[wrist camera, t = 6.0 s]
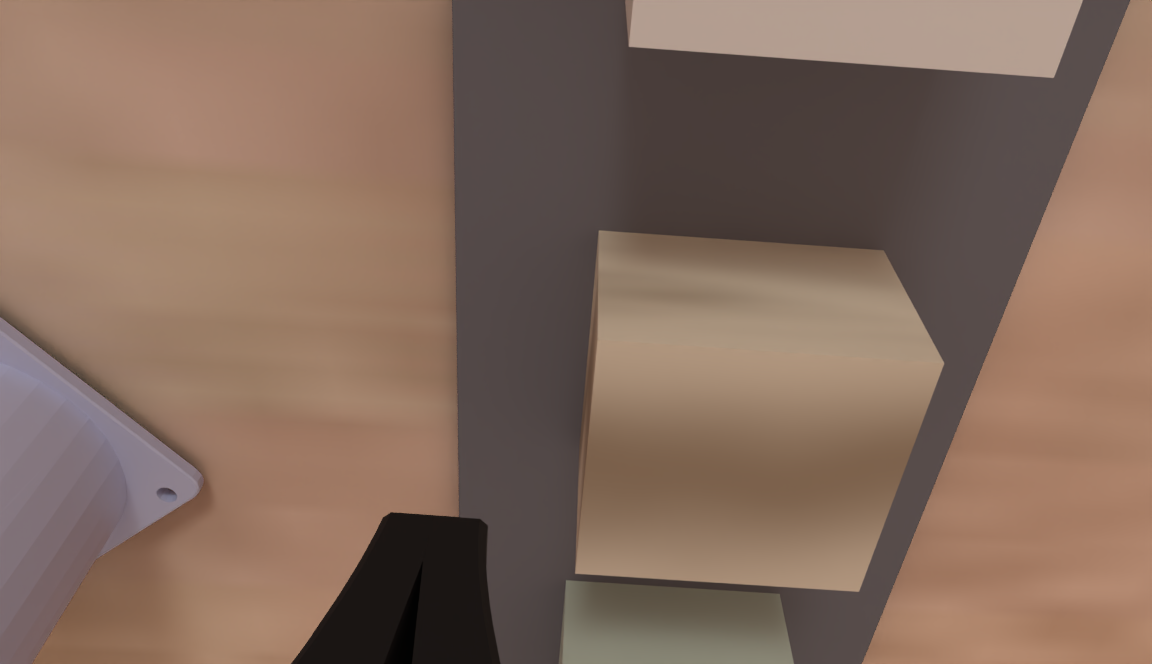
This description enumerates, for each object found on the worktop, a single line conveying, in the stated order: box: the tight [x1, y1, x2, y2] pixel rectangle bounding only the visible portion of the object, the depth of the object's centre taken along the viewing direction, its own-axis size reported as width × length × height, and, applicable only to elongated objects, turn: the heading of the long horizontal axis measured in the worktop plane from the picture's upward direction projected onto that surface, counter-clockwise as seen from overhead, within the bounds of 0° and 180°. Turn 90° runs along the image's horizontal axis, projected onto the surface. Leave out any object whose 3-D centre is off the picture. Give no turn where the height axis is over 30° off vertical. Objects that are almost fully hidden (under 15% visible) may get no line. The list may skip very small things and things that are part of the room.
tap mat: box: [452, 0, 1130, 664], centre depth 20 cm, size 30×12×1 cm, turn 176°
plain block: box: [575, 230, 944, 592], centre depth 19 cm, size 6×6×4 cm
